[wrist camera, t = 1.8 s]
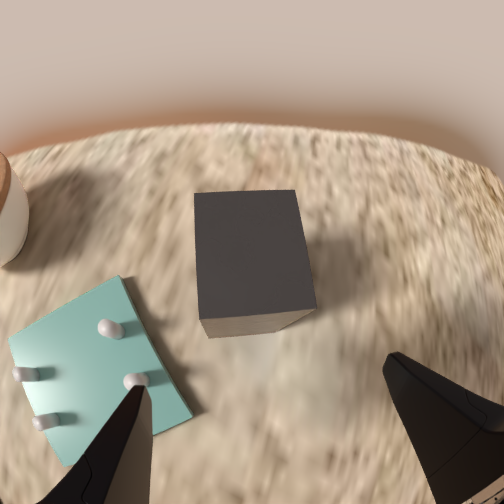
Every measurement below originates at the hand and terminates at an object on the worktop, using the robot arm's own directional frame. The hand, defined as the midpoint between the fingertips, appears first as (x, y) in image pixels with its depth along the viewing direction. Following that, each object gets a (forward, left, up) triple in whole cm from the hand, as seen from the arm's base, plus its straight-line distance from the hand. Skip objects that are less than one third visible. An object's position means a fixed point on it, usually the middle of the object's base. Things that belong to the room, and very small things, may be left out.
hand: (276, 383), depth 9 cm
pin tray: (+6, +11, -12) cm, 17 cm away
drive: (+5, -3, -12) cm, 13 cm away
